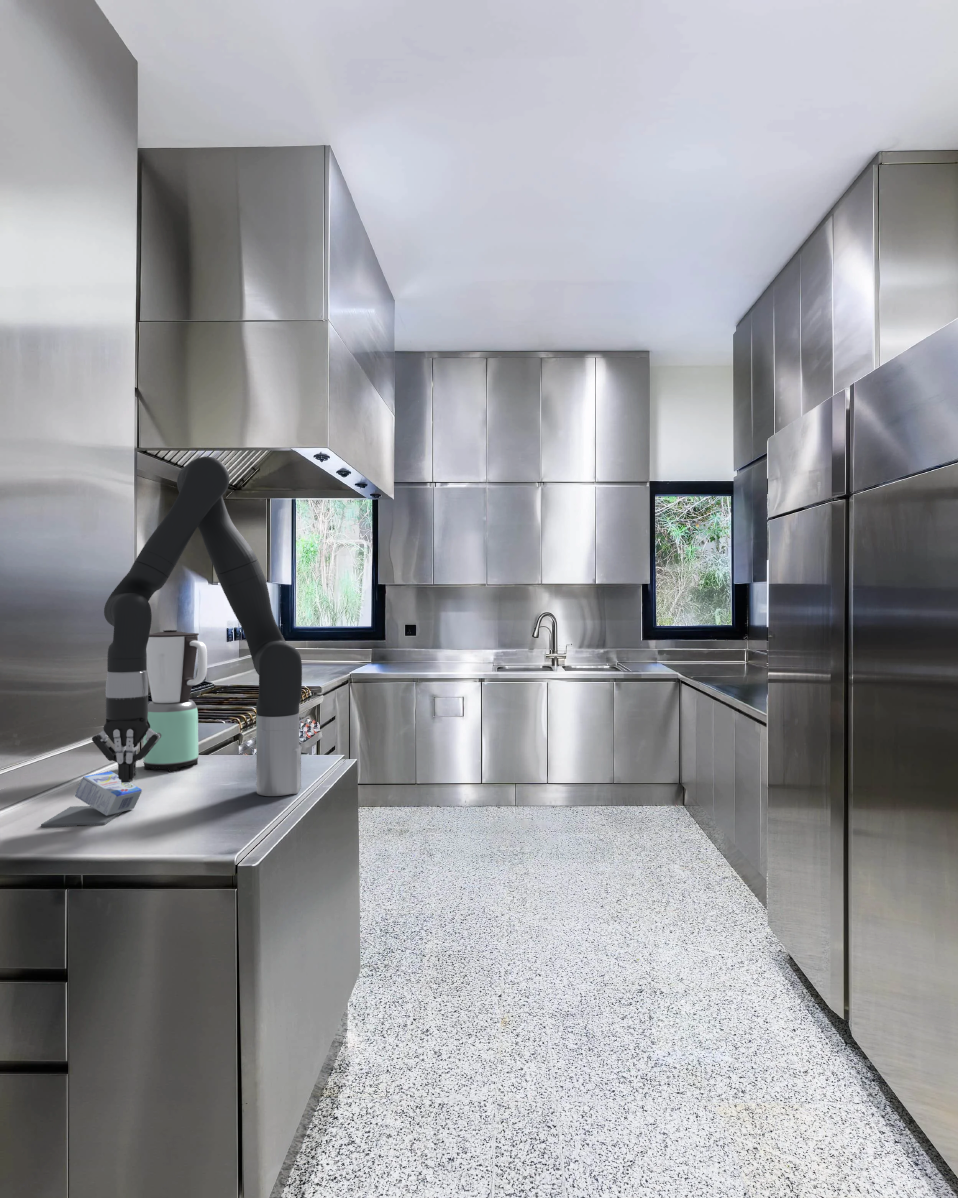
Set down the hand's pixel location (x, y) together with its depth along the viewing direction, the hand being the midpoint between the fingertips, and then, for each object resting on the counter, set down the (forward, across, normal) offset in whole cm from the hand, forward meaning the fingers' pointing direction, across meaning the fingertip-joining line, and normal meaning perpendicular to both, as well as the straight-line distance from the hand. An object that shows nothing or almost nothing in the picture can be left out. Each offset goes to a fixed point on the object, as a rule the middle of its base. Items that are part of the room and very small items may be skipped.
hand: (126, 781), depth 144 cm
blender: (+7, +4, -43) cm, 44 cm away
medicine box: (+4, 0, -1) cm, 5 cm away
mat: (+7, +8, 0) cm, 10 cm away
